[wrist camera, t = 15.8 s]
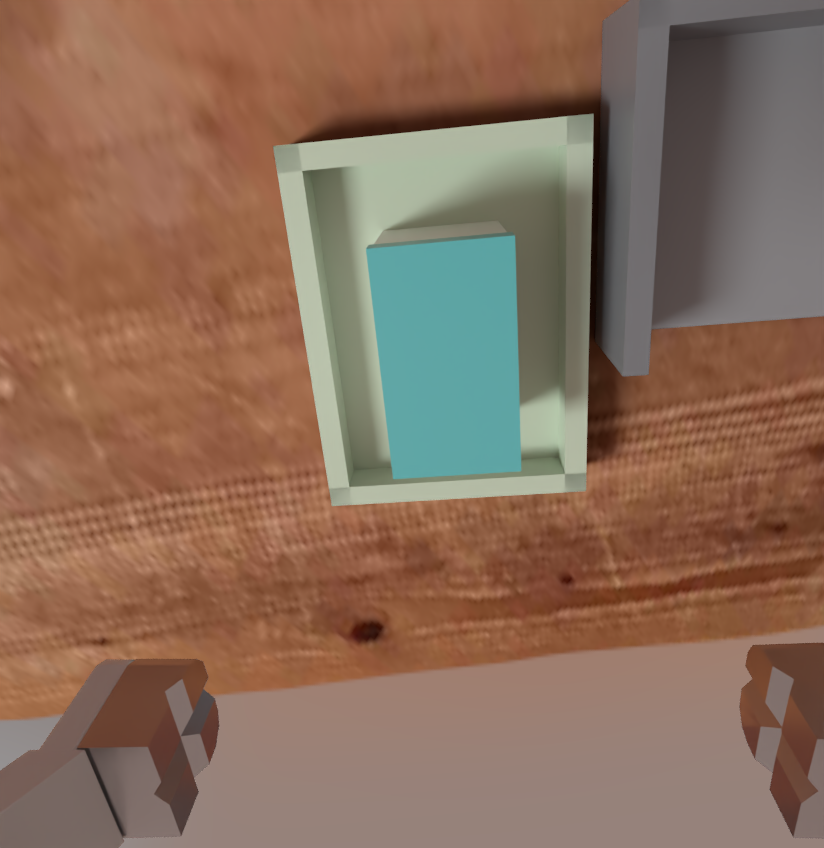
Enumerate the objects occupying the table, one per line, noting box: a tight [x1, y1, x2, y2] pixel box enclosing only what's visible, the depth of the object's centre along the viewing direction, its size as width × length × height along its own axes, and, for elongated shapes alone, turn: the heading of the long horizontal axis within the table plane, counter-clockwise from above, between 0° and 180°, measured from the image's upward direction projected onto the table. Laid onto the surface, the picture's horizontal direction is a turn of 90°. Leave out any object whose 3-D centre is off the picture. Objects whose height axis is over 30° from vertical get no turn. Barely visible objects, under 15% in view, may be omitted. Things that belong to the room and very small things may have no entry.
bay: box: [595, 0, 824, 376], centre depth 25 cm, size 15×13×5 cm
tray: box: [273, 114, 594, 506], centre depth 29 cm, size 12×16×2 cm
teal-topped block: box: [366, 220, 521, 479], centre depth 27 cm, size 5×9×6 cm, turn 5°
